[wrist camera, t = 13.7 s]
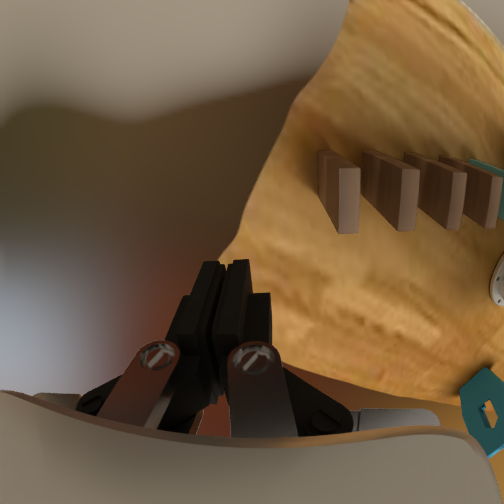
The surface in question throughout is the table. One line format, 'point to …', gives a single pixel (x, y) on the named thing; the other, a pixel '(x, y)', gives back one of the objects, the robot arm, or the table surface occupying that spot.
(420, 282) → the table surface
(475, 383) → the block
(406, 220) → the walnut tile
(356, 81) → the table surface
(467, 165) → the walnut tile
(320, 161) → the walnut tile
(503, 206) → the teal tile
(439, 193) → the walnut tile
